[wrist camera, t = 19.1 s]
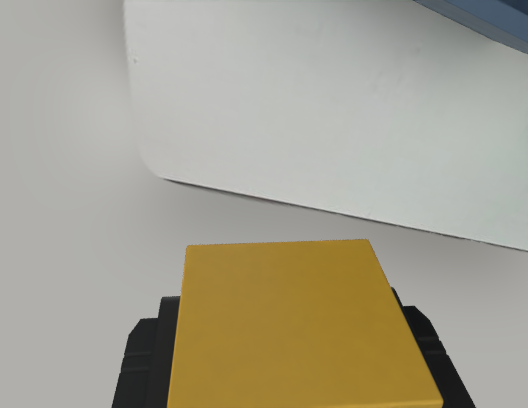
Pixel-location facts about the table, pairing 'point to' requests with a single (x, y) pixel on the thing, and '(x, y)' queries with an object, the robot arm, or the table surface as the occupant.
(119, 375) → the robot arm
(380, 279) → the block
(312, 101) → the table surface
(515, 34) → the blue storage box
